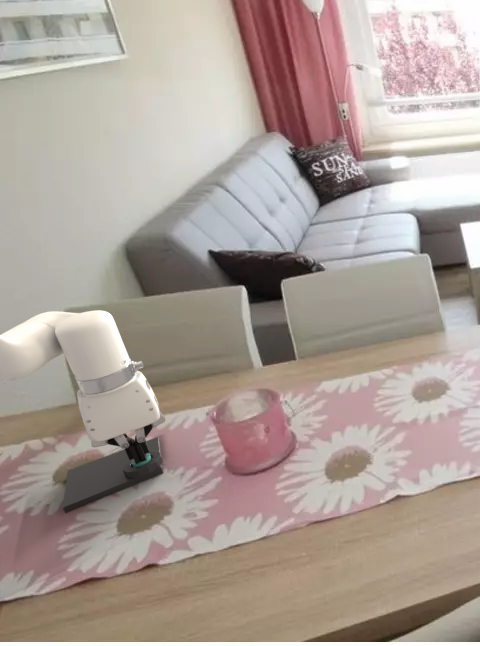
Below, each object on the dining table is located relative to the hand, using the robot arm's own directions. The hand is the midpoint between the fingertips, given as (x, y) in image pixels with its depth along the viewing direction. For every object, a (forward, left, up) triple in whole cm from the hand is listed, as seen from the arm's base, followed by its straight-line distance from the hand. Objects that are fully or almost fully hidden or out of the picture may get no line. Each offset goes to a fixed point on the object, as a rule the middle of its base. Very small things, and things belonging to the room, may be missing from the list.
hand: (141, 458), depth 103 cm
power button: (0, 0, -2) cm, 2 cm away
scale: (-5, +4, -4) cm, 7 cm away
